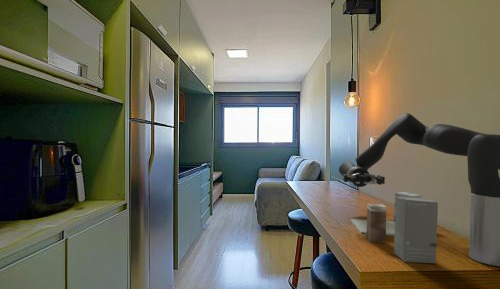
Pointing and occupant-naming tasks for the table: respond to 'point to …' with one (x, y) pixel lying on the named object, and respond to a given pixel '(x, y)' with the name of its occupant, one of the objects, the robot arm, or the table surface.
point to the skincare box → (416, 230)
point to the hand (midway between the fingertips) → (367, 181)
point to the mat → (362, 226)
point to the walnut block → (376, 223)
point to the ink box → (404, 194)
